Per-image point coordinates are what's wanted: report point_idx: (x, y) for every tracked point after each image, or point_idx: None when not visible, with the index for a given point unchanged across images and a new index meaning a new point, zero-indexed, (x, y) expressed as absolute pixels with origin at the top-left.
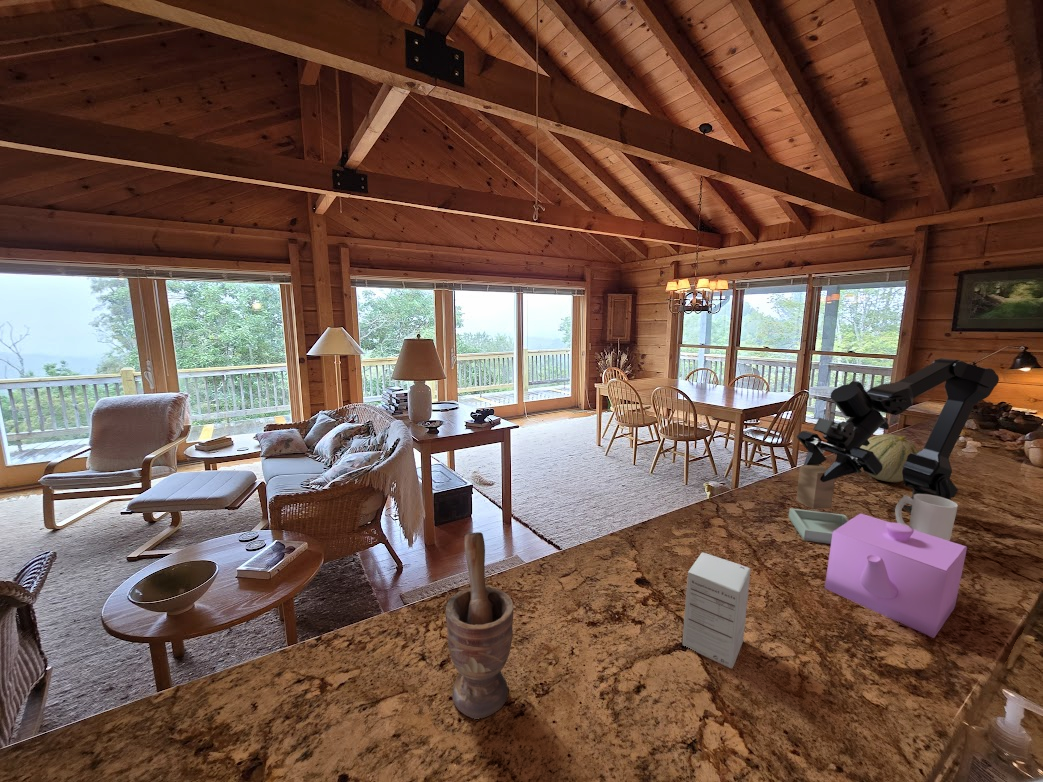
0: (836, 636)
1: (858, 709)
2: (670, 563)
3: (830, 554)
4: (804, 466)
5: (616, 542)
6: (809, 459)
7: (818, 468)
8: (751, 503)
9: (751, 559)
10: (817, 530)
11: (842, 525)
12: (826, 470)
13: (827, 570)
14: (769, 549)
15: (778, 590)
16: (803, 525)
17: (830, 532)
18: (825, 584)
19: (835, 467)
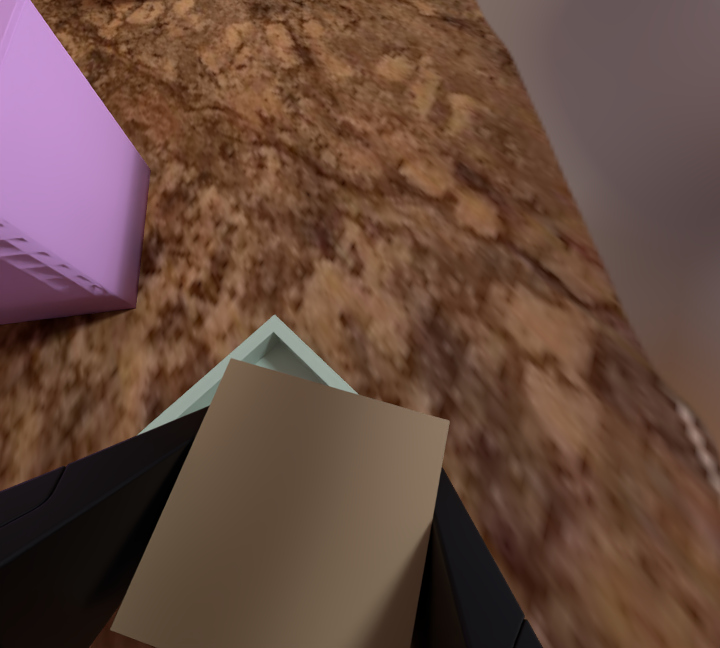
0: (93, 79)
1: (44, 9)
2: (368, 30)
3: (87, 83)
4: (413, 439)
5: (468, 7)
6: (461, 605)
7: (297, 532)
8: (565, 438)
9: (299, 141)
10: (248, 351)
11: (2, 35)
12: (205, 545)
13: (121, 130)
14: (305, 205)
15: (207, 102)
16: (296, 344)
17: (213, 380)
18: (144, 162)
19: (14, 488)
